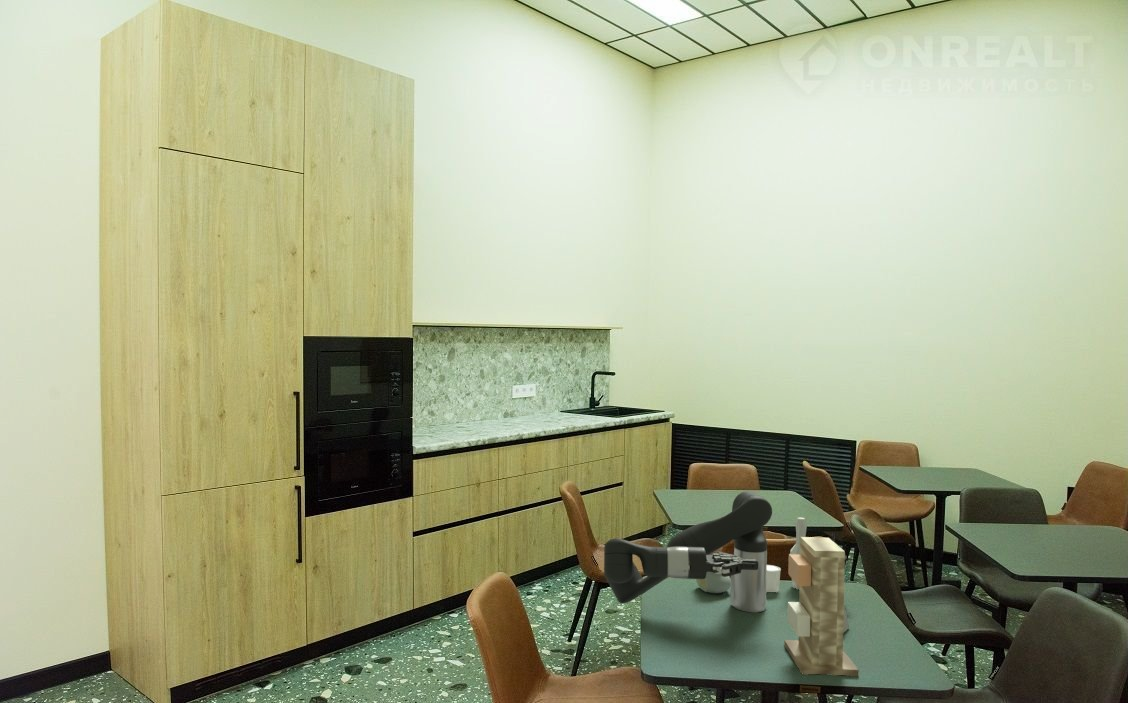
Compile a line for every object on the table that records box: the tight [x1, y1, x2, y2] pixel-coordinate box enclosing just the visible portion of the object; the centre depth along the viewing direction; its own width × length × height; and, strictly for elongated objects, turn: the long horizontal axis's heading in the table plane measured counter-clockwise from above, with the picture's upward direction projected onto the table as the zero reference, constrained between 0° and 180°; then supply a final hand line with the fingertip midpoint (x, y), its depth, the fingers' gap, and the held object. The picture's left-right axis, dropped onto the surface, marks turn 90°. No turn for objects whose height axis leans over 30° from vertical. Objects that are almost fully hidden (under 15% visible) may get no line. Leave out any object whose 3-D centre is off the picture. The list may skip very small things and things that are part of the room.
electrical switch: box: [843, 606, 850, 634], centre depth 197 cm, size 9×5×9 cm, turn 141°
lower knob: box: [787, 601, 810, 637], centre depth 178 cm, size 8×9×5 cm
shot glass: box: [766, 564, 782, 593], centre depth 229 cm, size 7×7×7 cm
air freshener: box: [695, 572, 731, 594], centre depth 227 cm, size 11×8×10 cm
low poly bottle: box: [789, 516, 808, 590], centre depth 231 cm, size 6×6×22 cm
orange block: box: [787, 553, 811, 586], centre depth 178 cm, size 8×9×5 cm
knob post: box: [783, 536, 860, 677], centre depth 178 cm, size 13×16×28 cm
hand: (757, 564), depth 178 cm, fingers closed
